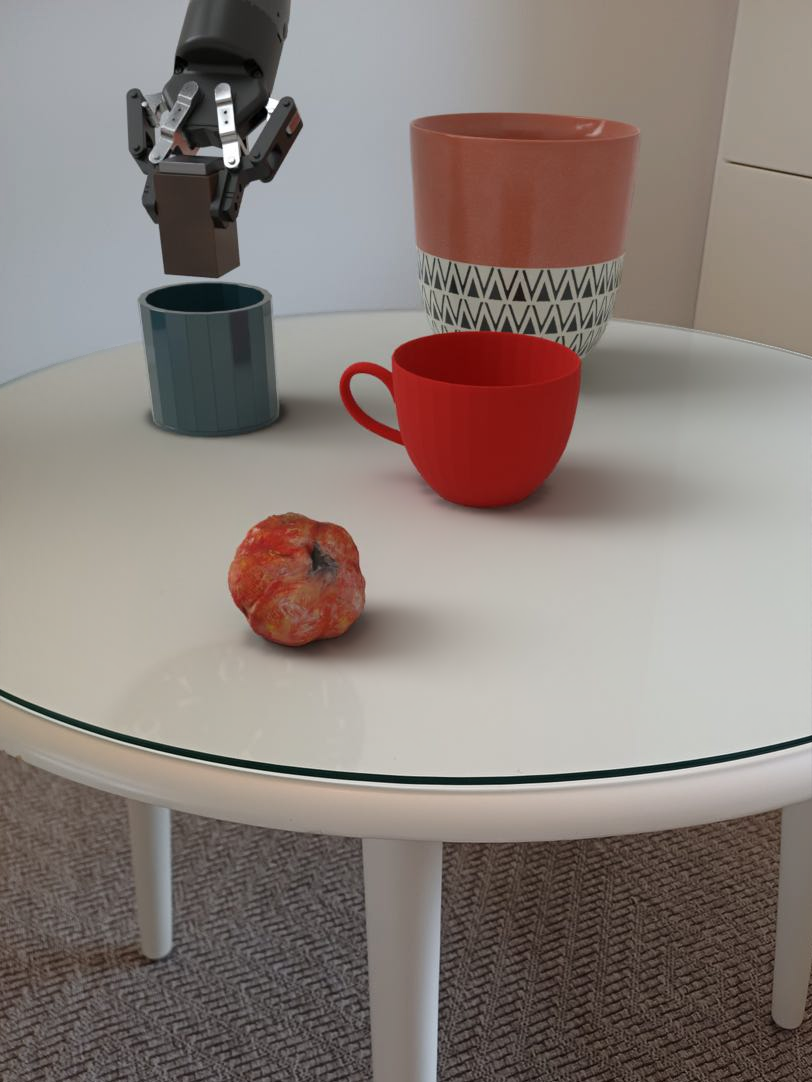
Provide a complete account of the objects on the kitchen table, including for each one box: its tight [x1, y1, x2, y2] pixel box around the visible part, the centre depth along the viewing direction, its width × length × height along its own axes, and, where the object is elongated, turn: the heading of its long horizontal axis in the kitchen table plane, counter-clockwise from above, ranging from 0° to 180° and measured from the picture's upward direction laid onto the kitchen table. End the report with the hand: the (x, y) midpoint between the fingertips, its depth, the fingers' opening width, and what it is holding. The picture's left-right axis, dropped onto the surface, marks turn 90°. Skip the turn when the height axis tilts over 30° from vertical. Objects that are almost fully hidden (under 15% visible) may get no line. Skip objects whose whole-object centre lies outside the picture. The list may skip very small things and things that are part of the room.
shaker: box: [153, 154, 241, 279], centre depth 85 cm, size 4×4×8 cm
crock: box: [136, 280, 280, 438], centre depth 91 cm, size 10×10×10 cm
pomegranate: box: [227, 511, 366, 647], centre depth 62 cm, size 7×7×10 cm
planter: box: [408, 111, 643, 361], centre depth 100 cm, size 20×20×21 cm
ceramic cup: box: [338, 331, 582, 509], centre depth 79 cm, size 13×17×10 cm
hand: (187, 219), depth 83 cm, fingers closed on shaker, 4 cm apart
